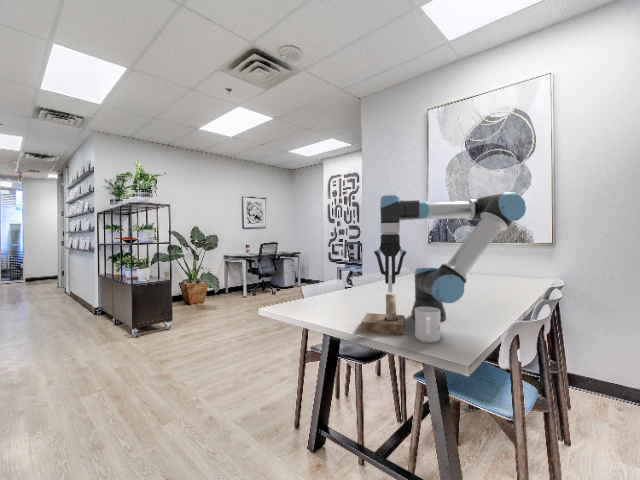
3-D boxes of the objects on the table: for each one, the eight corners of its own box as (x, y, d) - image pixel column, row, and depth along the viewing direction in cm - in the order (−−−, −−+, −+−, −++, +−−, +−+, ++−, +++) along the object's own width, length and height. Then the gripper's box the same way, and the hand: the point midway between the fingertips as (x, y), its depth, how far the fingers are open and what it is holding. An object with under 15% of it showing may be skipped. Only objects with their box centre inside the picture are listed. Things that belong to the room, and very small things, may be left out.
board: (404, 324, 136) (404, 315, 136) (402, 335, 123) (402, 324, 123) (366, 322, 141) (366, 313, 141) (361, 331, 127) (361, 321, 127)
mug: (415, 334, 123) (414, 306, 123) (439, 336, 121) (439, 307, 120) (414, 345, 112) (414, 313, 111) (442, 347, 109) (441, 315, 109)
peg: (396, 327, 132) (396, 294, 132) (395, 330, 128) (395, 296, 128) (386, 327, 133) (386, 293, 133) (385, 329, 129) (385, 295, 129)
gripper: (407, 233, 131) (407, 290, 132) (375, 233, 135) (375, 289, 136) (406, 233, 124) (406, 294, 125) (372, 234, 128) (373, 292, 129)
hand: (390, 291), depth 130 cm, fingers closed
